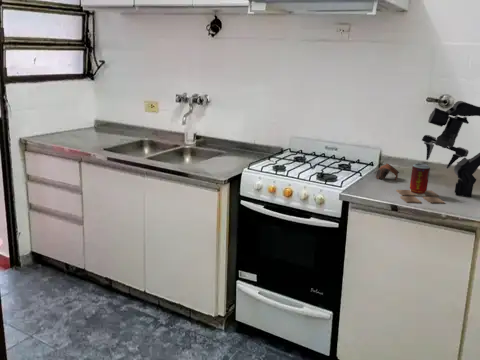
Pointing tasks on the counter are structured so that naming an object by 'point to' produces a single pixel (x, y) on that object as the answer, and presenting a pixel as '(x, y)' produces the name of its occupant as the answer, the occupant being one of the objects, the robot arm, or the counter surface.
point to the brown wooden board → (409, 193)
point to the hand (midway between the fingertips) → (437, 164)
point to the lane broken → (414, 200)
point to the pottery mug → (386, 171)
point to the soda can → (419, 178)
